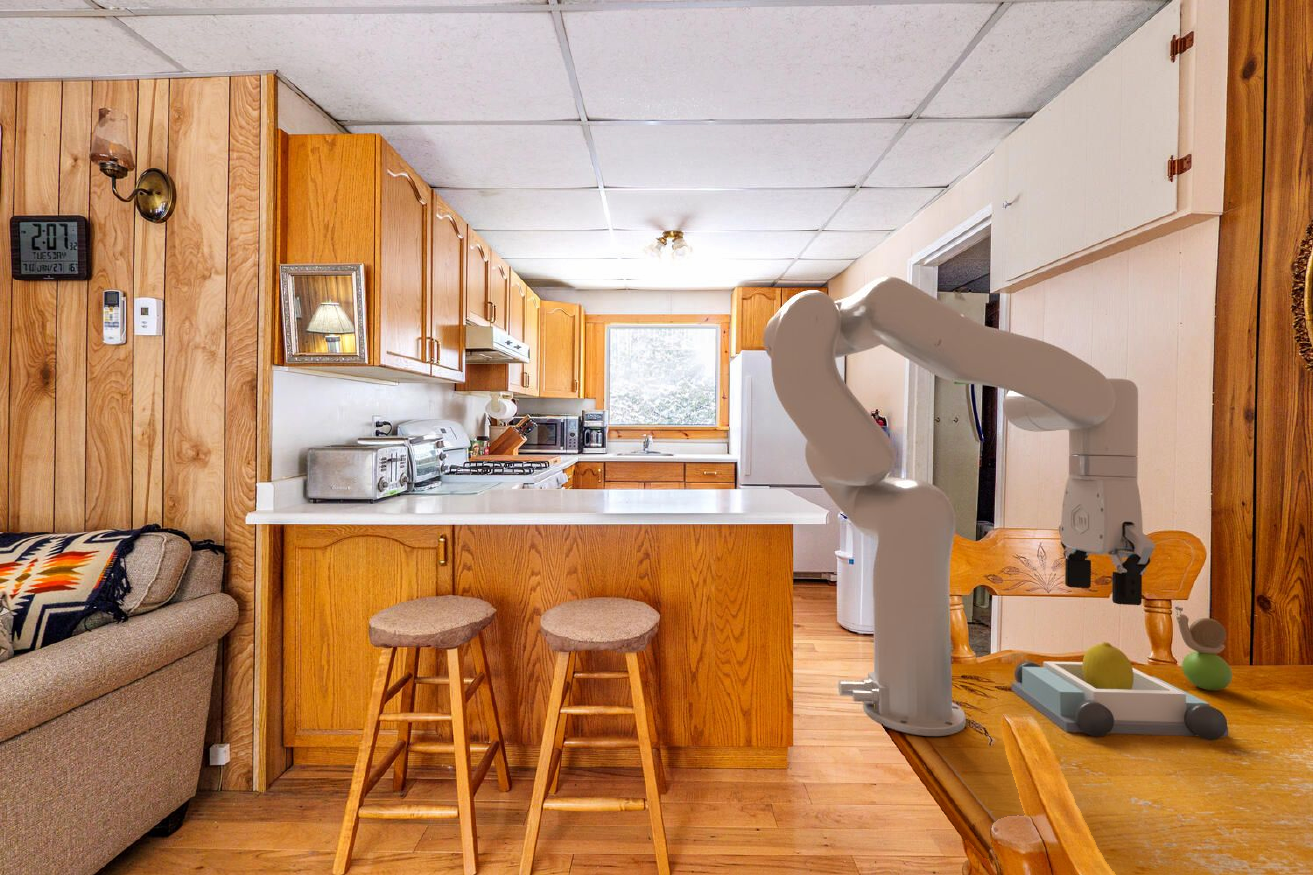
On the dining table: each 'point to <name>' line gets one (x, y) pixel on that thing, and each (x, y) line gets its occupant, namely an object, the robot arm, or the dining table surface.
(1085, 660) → the lemon
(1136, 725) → the chassis
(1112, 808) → the dining table surface
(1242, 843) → the dining table surface
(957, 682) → the dining table surface
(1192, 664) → the snail figurine
